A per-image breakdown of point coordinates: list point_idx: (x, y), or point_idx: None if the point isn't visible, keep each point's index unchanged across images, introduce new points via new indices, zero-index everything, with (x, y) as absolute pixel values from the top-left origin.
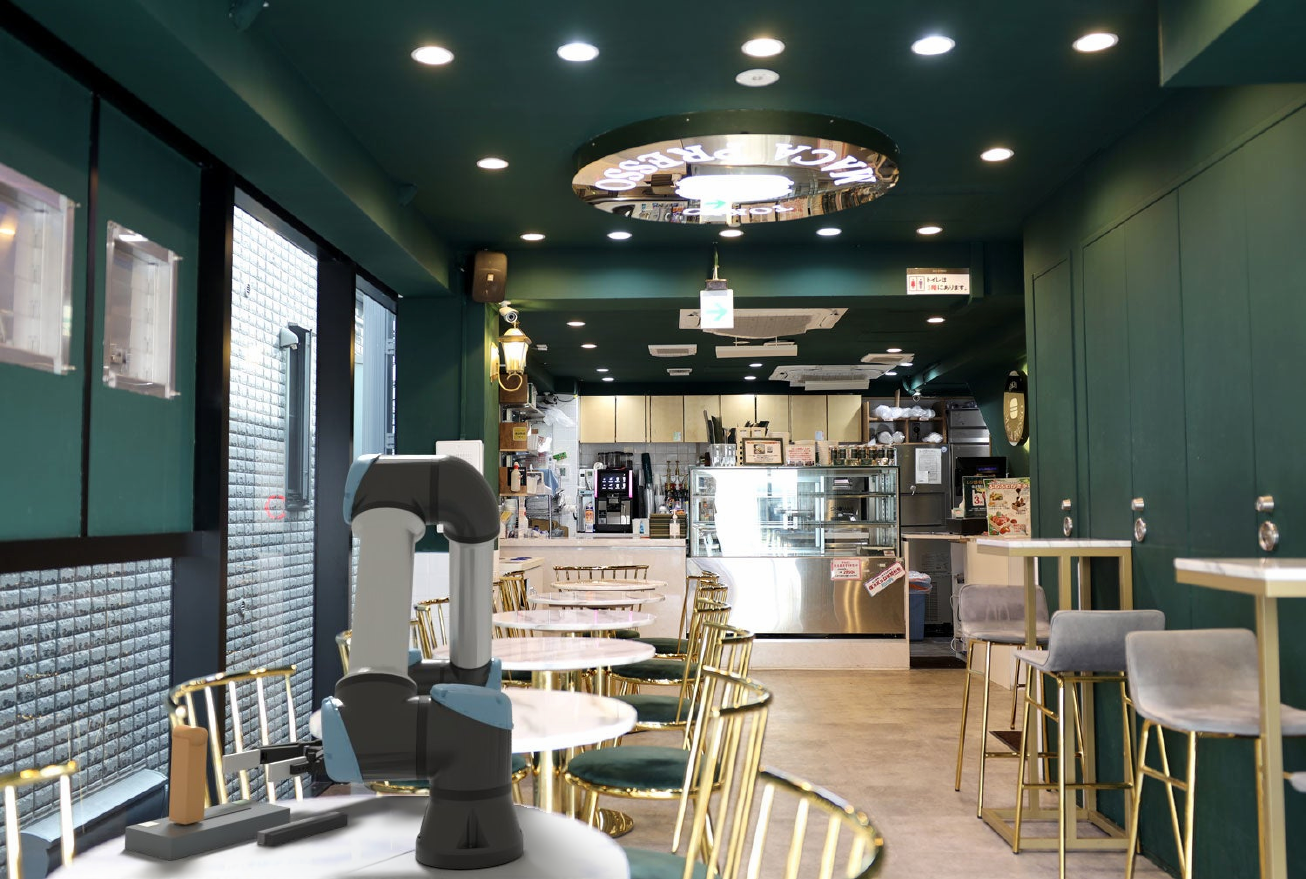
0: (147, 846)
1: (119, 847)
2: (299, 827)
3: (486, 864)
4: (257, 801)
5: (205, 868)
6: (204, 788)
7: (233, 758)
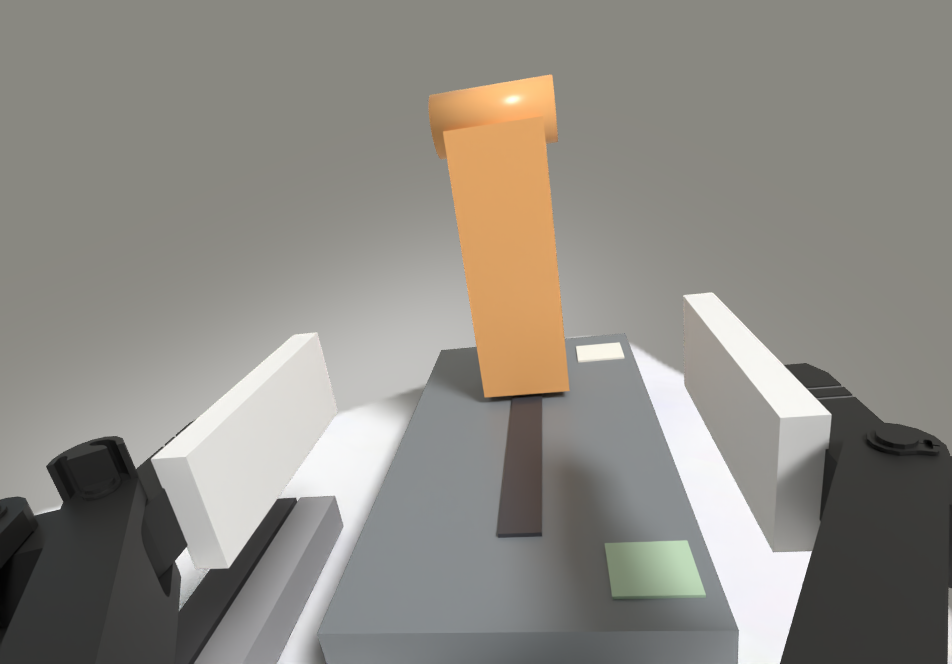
0: None
1: (661, 383)
2: (199, 587)
3: None
4: (605, 630)
5: (346, 411)
6: (471, 307)
7: (698, 336)
